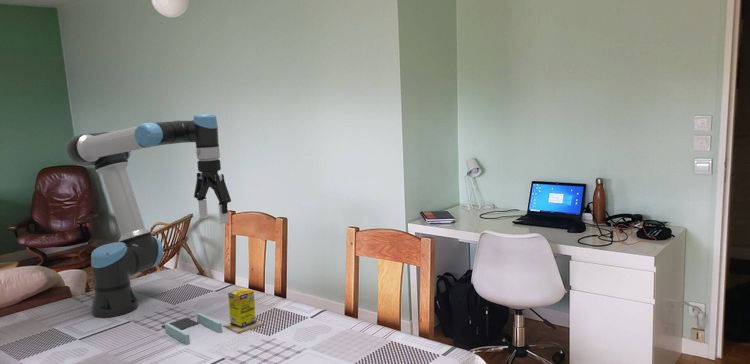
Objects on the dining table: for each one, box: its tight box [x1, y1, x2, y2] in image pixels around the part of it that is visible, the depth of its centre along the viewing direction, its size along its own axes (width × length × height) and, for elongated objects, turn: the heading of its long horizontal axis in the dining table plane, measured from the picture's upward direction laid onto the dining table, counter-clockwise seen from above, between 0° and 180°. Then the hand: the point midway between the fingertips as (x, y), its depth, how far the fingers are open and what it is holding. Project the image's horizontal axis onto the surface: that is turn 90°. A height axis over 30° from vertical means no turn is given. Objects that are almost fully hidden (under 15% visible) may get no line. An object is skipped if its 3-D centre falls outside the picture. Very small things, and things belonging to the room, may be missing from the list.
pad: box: [222, 319, 264, 335], centre depth 179 cm, size 9×9×1 cm
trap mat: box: [160, 317, 200, 331], centre depth 182 cm, size 8×9×1 cm
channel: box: [164, 312, 223, 346], centre depth 176 cm, size 14×12×3 cm
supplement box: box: [227, 287, 257, 328], centre depth 179 cm, size 6×6×11 cm
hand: (213, 220), depth 192 cm, fingers open, 13 cm apart
